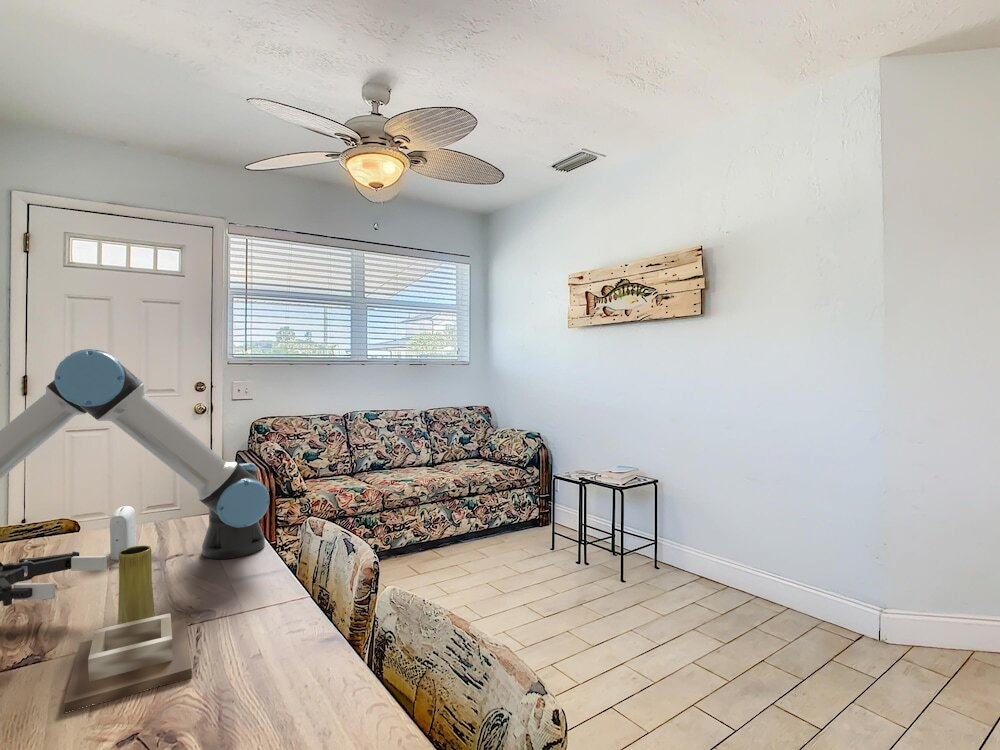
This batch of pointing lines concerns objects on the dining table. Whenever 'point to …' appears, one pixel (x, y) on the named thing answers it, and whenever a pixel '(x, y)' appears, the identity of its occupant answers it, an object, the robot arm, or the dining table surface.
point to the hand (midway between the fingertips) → (81, 576)
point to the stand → (129, 660)
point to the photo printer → (122, 530)
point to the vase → (135, 584)
